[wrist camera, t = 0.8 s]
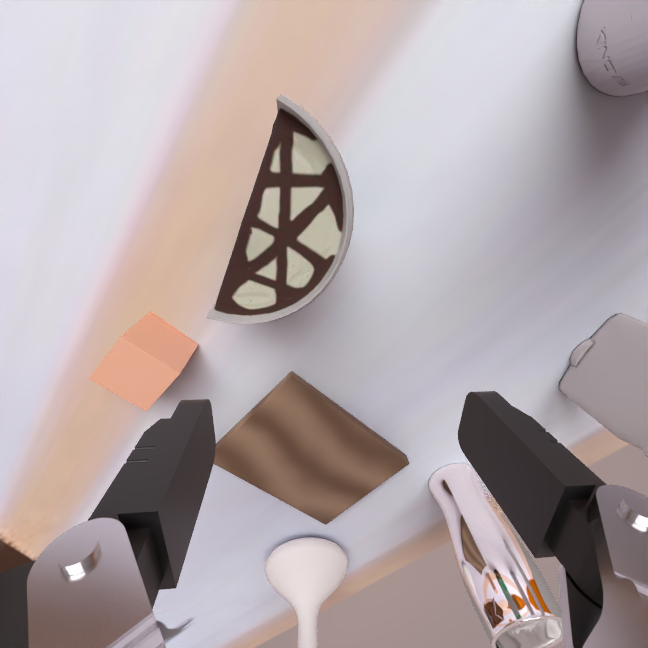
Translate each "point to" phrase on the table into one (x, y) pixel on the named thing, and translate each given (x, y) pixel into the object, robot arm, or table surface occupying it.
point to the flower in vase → (306, 579)
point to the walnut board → (307, 451)
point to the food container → (289, 224)
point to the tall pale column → (613, 378)
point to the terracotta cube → (144, 361)
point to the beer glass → (495, 565)
